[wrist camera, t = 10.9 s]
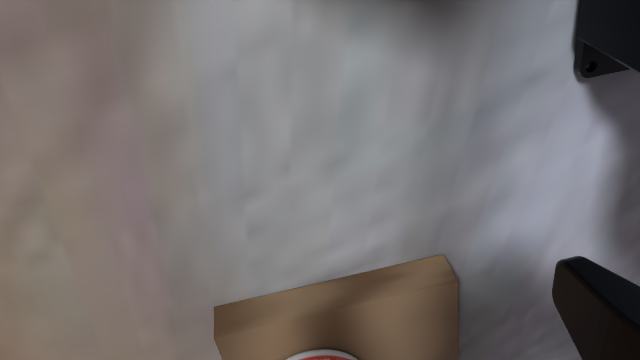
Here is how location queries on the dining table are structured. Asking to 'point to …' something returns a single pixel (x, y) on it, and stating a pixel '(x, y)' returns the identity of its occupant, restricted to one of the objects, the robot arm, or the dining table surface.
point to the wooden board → (350, 317)
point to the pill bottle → (322, 355)
